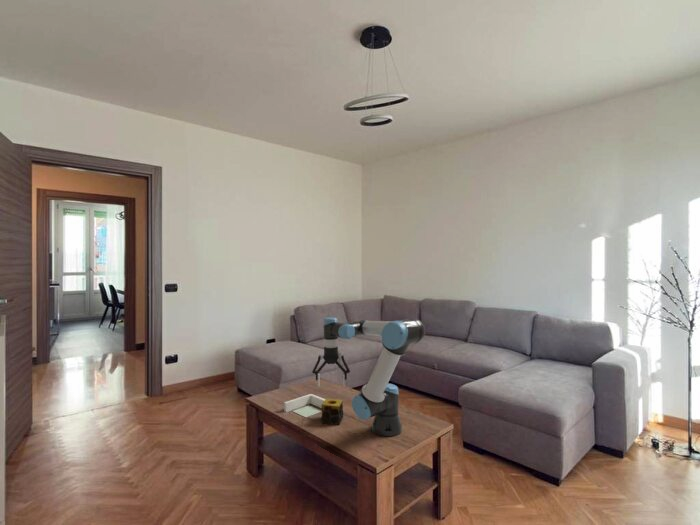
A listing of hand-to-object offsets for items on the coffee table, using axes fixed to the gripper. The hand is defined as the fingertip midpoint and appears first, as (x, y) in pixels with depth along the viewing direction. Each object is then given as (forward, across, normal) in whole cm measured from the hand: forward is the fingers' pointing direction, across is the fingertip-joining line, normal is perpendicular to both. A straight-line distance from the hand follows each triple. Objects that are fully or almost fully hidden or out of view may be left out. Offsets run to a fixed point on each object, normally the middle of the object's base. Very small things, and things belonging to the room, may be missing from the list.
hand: (331, 385), depth 206 cm
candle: (+19, 0, 0) cm, 19 cm away
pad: (+18, +14, -12) cm, 26 cm away
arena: (+18, +14, -13) cm, 26 cm away
